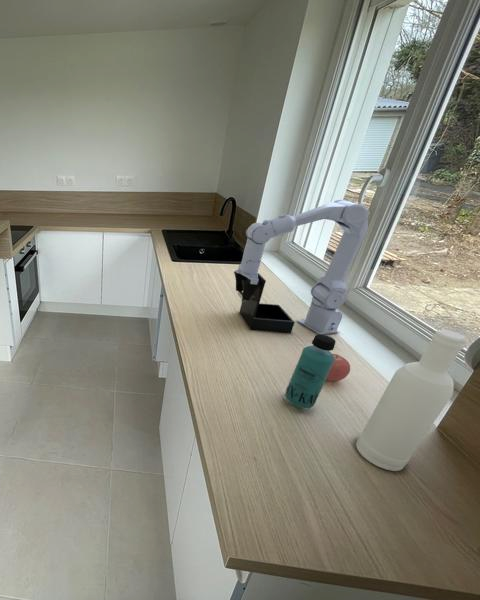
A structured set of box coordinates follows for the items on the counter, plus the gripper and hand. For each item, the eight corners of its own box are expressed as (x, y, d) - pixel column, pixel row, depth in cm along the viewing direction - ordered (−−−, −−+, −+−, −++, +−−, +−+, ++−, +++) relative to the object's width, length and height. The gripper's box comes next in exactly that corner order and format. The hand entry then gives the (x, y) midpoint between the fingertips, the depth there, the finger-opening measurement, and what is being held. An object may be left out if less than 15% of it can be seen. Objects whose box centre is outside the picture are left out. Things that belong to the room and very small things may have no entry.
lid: (252, 266, 117) (240, 266, 118) (266, 280, 105) (252, 279, 106) (243, 301, 123) (231, 300, 124) (255, 317, 111) (242, 316, 112)
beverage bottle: (284, 391, 85) (309, 326, 76) (314, 403, 81) (344, 336, 73) (280, 405, 81) (305, 338, 72) (311, 418, 77) (342, 349, 68)
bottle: (356, 459, 67) (426, 337, 54) (353, 433, 73) (415, 318, 60) (407, 479, 63) (496, 353, 50) (399, 450, 69) (477, 331, 56)
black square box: (275, 315, 124) (278, 304, 122) (290, 333, 112) (294, 322, 110) (239, 312, 126) (241, 302, 124) (250, 330, 114) (253, 318, 112)
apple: (329, 388, 86) (340, 364, 83) (305, 372, 93) (314, 349, 89) (350, 384, 88) (361, 360, 85) (325, 368, 95) (335, 345, 91)
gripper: (233, 252, 117) (225, 286, 122) (246, 265, 104) (236, 303, 109) (253, 253, 116) (244, 287, 122) (269, 266, 103) (258, 304, 109)
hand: (242, 295), depth 115 cm, fingers open, 7 cm apart
